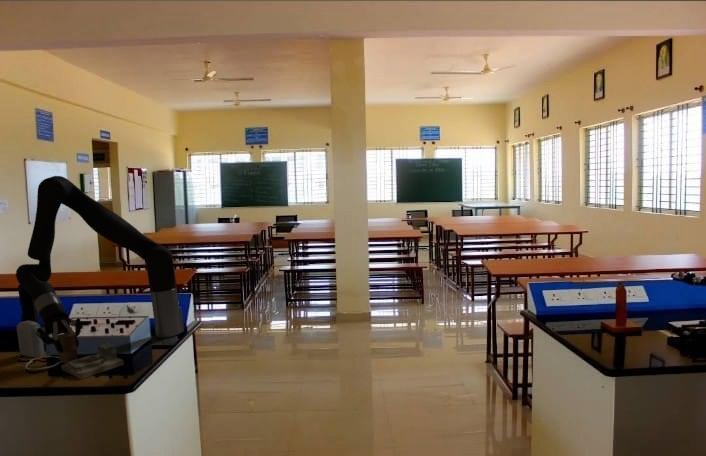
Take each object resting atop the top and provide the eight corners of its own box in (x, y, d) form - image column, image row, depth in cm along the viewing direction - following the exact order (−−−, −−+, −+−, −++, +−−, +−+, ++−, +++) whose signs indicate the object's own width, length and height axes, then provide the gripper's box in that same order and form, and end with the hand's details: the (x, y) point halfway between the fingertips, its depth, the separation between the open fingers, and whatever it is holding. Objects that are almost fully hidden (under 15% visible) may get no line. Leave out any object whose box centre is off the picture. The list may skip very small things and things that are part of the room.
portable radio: (26, 337, 205) (17, 276, 203) (43, 334, 208) (34, 274, 205) (23, 342, 198) (13, 279, 196) (41, 339, 201) (31, 277, 198)
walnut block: (72, 358, 172) (68, 332, 171) (78, 360, 169) (74, 334, 168) (59, 362, 169) (55, 335, 168) (65, 364, 166) (61, 338, 165)
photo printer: (47, 354, 180) (42, 320, 179) (34, 358, 176) (29, 323, 175) (31, 351, 185) (26, 318, 184) (18, 355, 181) (13, 321, 180)
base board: (103, 356, 171) (101, 341, 171) (123, 364, 161) (121, 347, 161) (61, 369, 161) (59, 353, 161) (80, 379, 152) (78, 361, 151)
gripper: (28, 307, 167) (47, 349, 160) (74, 297, 177) (93, 336, 171) (25, 321, 171) (43, 362, 164) (70, 310, 181) (89, 348, 175)
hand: (69, 348), depth 167 cm, fingers closed on walnut block, 4 cm apart
